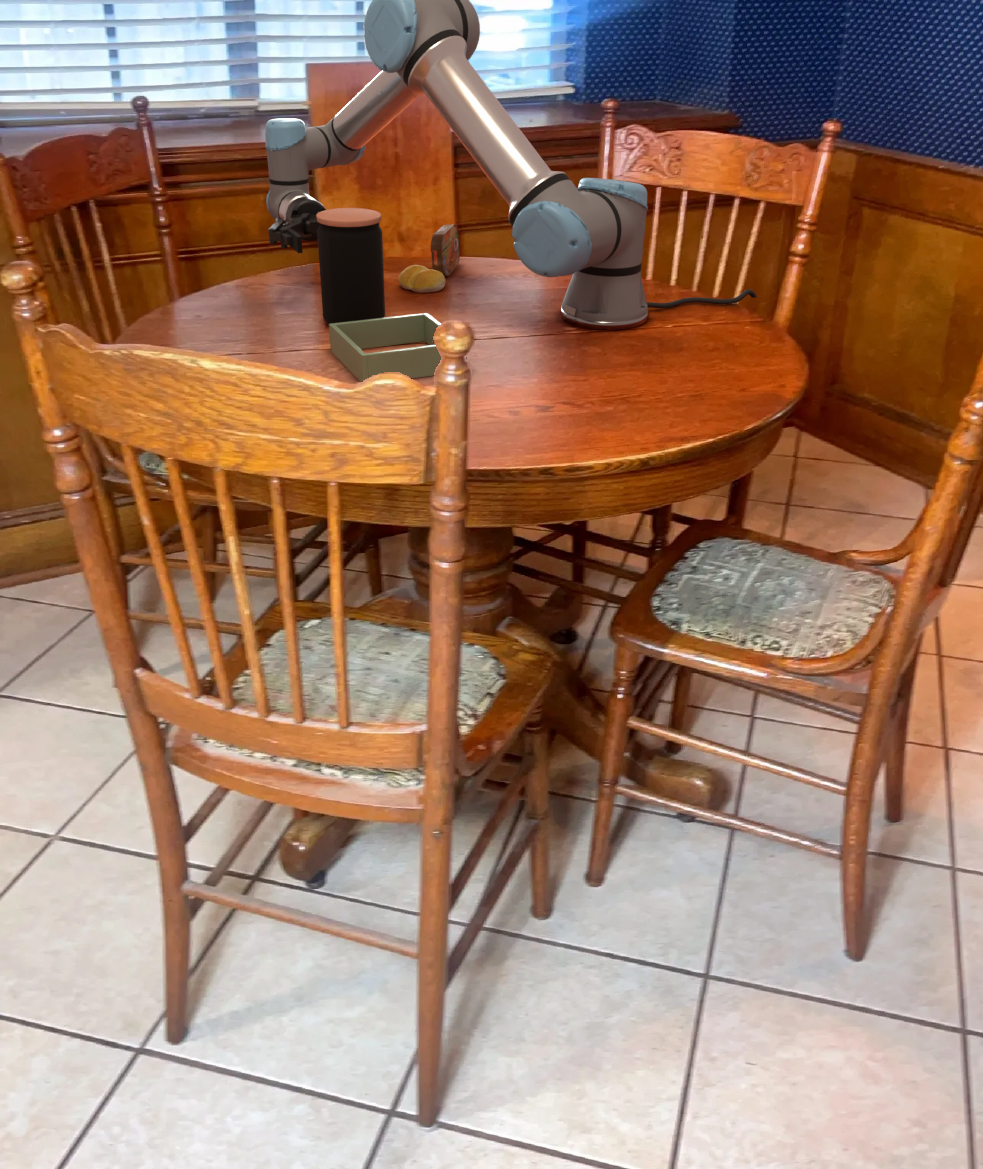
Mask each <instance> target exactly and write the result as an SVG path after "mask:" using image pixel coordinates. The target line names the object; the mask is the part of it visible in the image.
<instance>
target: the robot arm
mask: <svg viewBox="0 0 983 1169" xmlns="http://www.w3.org/2000/svg"><path fill="white" fill-rule="evenodd" d="M364 16H365V17H364V22H363V30H364V34H363V40H364V46H365V50H366V54H367V56H368V58H369V59H370V62H372V64H373V65H374V66H375V67H376V68H377V69H378V70H380V72H379V73H378V74H377V75H376V76H375V77H374V78H373V79H372V80H371V81H370V82H368V83H367V84H366V85H365V86H364V87H363V88H362V89H361V90H360V91H359V92H357V94H356V95H355V96H354V97H353V98H352V99H351V100H350V101H349V102H348V103H347V104H346V105H345V106H343V107H342V109H341V110H339V112H337V114H335V115H334V116H333V118H331V119H330V120H329V121H328V122H327V123H326V124H323V125H316V126H310V127H306V125H305V122H304V121H303V120H302V119H299V118H293V117H292V118H291V117H283V118H272V119H269V120H268V121H267V122H266V123H265V125H264V127H265V128H264V129H265V130H264V131H265V132H264V138H265V140H264V141H265V142H264V146H265V150H266V159H267V160H266V161H267V167H268V185H269V187H268V188H269V190H268V192H267V195H266V199H265V204H266V208H267V211H268V212H269V214H270V216H271V217H272V219H274V223H273V224H271V226H269V228H268V241H269V244H270V245H276V244H277V243H278V242H280V248H281V249H284V250H285V249H288V246H289V247H290V248H291V249H293V251H295V252H296V253H297V254H303V253H304V252H303V241H304V242H309V243H311V242H316V241H318V236H317V230H318V228H319V227H320V224H319V222H318V221H317V217H316V214H318V213H319V212H321V211H324V210H327V208H326V207H325V206H324V205H323V204H322V203H321V202H320V201H318V200H317V199H315V197H312V196H310V186H309V185H310V184H309V182H310V179H309V178H310V177H309V171H311V170H312V171H313V170H317V169H318V170H319V169H325V168H330V167H331V168H332V167H336V166H337V167H339V166H346V165H349V164H352V163H355V162H358V161H359V160H361V158H363V156H364V153H365V150H366V147H367V146H366V144H368V143H369V142H370V141H371V140H372V139H373V138H374V137H376V135H378V134H379V133H380V132H381V131H382V130H383V129H385V128H386V127H387V126H388V125H389V124H390V123H391V122H392V121H393V120H394V119H396V118H397V117H398V116H400V114H401V113H402V112H404V111H405V110H406V109H407V108H408V107H409V106H410V105H411V104H413V102H415V101H416V100H417V99H418V98H419V97H421V96H422V95H423V96H424V95H425V96H426V98H427V99H428V101H430V103H431V104H432V105H433V107H434V108H435V110H436V111H437V112H438V113H439V115H440V116H441V117H442V119H443V120H444V121H445V123H446V124H447V125H448V127H449V128H450V129H451V131H452V132H453V133H454V135H455V136H456V138H457V139H458V140H459V142H460V143H461V144H462V145H463V147H464V148H465V149H466V151H467V152H468V154H469V155H470V156H471V157H472V159H473V160H474V161H475V162H476V164H477V165H478V167H479V168H480V169H481V170H482V172H483V174H485V176H486V177H487V179H488V180H489V181H490V183H491V184H492V185H493V187H494V188H495V190H497V192H498V194H499V195H500V196H501V197H502V199H503V200H504V201H505V202H506V204H507V205H508V207H509V210H508V216H507V220H508V222H509V224H510V225H511V227H512V231H511V235H512V238H513V239H514V241H513V244H512V245H513V249H514V251H515V254H516V255H517V257H518V259H519V260H520V262H521V263H522V264H523V266H525V267H526V268H527V269H528V270H529V271H530V272H532V273H534V274H536V275H538V276H540V277H545V278H558V277H567V276H571V278H570V280H569V284H568V286H567V289H566V291H565V294H564V297H563V300H562V301H561V308H560V316H561V318H562V319H563V320H564V321H566V322H567V323H569V324H571V325H575V326H579V327H582V328H587V329H595V330H626V329H632V328H635V327H639V326H641V325H643V324H645V323H646V322H647V321H648V316H649V315H648V314H649V308H650V309H669V308H674V307H677V306H680V305H684V304H692V303H695V304H696V303H699V304H700V303H701V304H711V305H712V304H713V305H733V304H737V303H739V302H740V301H742V300H744V299H745V298H746V297H747V296H748V295H749V296H750V298H754V299H755V298H756V299H757V298H758V296H757V294H756V292H755V291H754V290H752V289H750V288H748V289H745V290H744V291H742V292H741V293H740V294H738V295H737V296H735V297H732V298H715V297H714V298H713V297H701V296H699V297H698V296H696V297H695V296H693V297H684V298H680V299H679V298H678V299H677V300H673V301H669V302H652V301H651V302H650V301H647V298H646V293H645V288H644V284H643V280H642V263H643V254H644V243H645V234H646V223H647V212H648V210H649V206H648V190H647V188H646V187H645V186H644V185H643V184H641V183H637V182H632V181H625V180H619V179H617V180H616V179H610V178H597V177H583V178H581V179H580V180H579V183H578V187H577V186H576V185H575V184H574V183H573V181H572V180H571V178H570V177H569V176H568V174H567V173H566V172H564V171H558V170H557V171H555V170H551V168H550V167H549V166H548V165H547V163H546V162H545V160H543V158H542V157H541V155H540V154H539V153H538V151H537V149H535V147H534V146H533V145H532V143H531V142H530V141H529V140H528V138H527V137H526V135H525V134H524V133H523V131H522V130H521V129H520V127H519V126H518V125H517V124H516V122H515V121H514V119H513V118H512V117H511V116H510V114H509V113H508V112H507V110H506V109H505V108H504V107H503V104H501V103H500V101H499V100H498V98H497V97H496V96H495V94H494V93H493V92H492V90H491V89H490V87H488V85H487V83H486V82H485V81H484V80H483V79H482V77H481V76H480V74H479V73H478V72H477V71H476V69H475V68H474V66H473V65H472V64H471V62H470V61H469V60H470V59H471V58H472V57H473V55H474V53H475V52H476V50H477V47H478V45H479V41H480V34H481V24H480V19H479V16H478V13H477V10H476V8H475V6H474V5H473V4H472V2H471V1H470V0H372V1H371V2H370V3H369V5H368V8H367V10H366V13H365V15H364ZM737 483H739V481H738V482H737ZM737 483H735V484H737ZM737 485H738V484H737ZM732 487H734V484H733V483H732ZM732 490H733V489H732V488H731V491H732Z"/></svg>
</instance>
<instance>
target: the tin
mask: <svg viewBox="0 0 983 1169" xmlns="http://www.w3.org/2000/svg"><path fill="white" fill-rule="evenodd" d="M430 254H431V269H433V270H437V271H439V272H441V273H442V274H443V275H444V277H449V276H450V275H451V274H452V272H454V271H455V269H457V267H458V265H459V262H460V256H461V238H460V232H459V228H458V226H457V224H455V223H454V224H453V223H452V224H442V225H441V227H439V228H438V229H437V230H436V231H435V232H434V233H433V234H432V237H431V240H430Z"/></svg>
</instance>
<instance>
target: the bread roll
mask: <svg viewBox="0 0 983 1169" xmlns="http://www.w3.org/2000/svg"><path fill="white" fill-rule="evenodd" d="M398 283H399V285H400V287H401V288H402V289H405V290H407V291H412V292H414V293H419V294H424V293H436V292H439V291H441V290H443V289H444V288H445V286H446V276H444V275H443V274H442V273H441V272H439V271H437V270H433V269H432V268H427V267H426V266H424V265H420V264H412V265H409V266H407V267H405V268H404V269H403V270H402V271H401V272H400V274H399V275H398Z"/></svg>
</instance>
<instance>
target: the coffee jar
mask: <svg viewBox="0 0 983 1169" xmlns="http://www.w3.org/2000/svg"><path fill="white" fill-rule="evenodd" d="M316 217H317V221H318V222H319V224H320V227H319V228H318V230H317V236H318V240H317V246H318V248H317V249H318V262H319V277H320V278H319V279H320V293H321V294H320V295H321V310H322V317H323V321H324V322H325V323H326V324H327V326H328V327H329V324H332V323H341V322H350V321H359V320H368V319H377V318H386V299H385V272H384V245H383V244H384V243H383V242H384V241H383V240H384V239H383V230H382V228H381V226H380V222H381V221H382V217H383V216H382V214H381V212H379V211H377V210H374V209H368V208H361V207H338V208H329V209H326V210H324V211H321V212H319V213H318V214H316Z"/></svg>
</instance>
